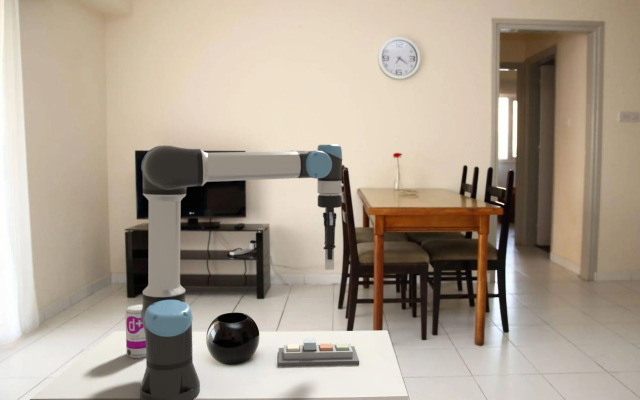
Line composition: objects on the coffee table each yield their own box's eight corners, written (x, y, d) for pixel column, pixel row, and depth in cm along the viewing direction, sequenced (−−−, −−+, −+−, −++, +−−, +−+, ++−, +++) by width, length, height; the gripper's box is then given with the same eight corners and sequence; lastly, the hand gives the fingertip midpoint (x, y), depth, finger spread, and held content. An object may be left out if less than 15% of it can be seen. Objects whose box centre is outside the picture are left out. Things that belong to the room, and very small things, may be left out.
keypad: (278, 366, 159) (278, 356, 159) (278, 351, 171) (278, 342, 170) (359, 364, 160) (359, 354, 160) (354, 349, 172) (354, 340, 172)
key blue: (303, 349, 163) (303, 342, 163) (303, 345, 167) (303, 338, 167) (315, 349, 163) (315, 342, 163) (315, 345, 167) (315, 338, 167)
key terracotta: (320, 354, 164) (320, 347, 163) (319, 350, 167) (319, 343, 167) (332, 354, 164) (332, 347, 164) (331, 350, 167) (331, 343, 167)
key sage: (336, 354, 164) (336, 347, 164) (335, 350, 168) (335, 343, 167) (348, 354, 164) (348, 347, 164) (347, 349, 168) (347, 343, 168)
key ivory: (287, 355, 163) (287, 348, 163) (287, 351, 167) (287, 344, 166) (299, 355, 163) (299, 348, 163) (299, 351, 167) (299, 344, 167)
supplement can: (146, 359, 164) (144, 311, 162) (121, 357, 165) (119, 310, 164) (158, 350, 172) (157, 304, 170) (135, 348, 173) (133, 302, 172)
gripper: (343, 196, 161) (343, 273, 163) (339, 192, 174) (339, 264, 176) (318, 196, 161) (318, 273, 163) (316, 192, 173) (316, 264, 176)
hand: (329, 269), depth 169 cm, fingers closed
